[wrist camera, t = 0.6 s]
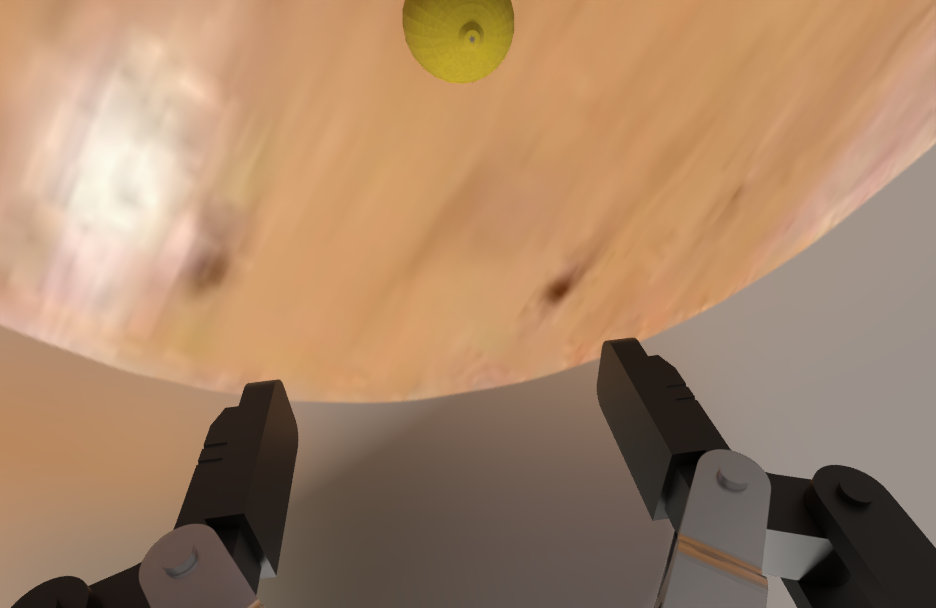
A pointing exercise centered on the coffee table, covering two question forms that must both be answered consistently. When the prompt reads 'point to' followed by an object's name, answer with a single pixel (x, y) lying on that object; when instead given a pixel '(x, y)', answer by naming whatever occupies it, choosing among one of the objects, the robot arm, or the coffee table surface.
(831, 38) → the coffee table surface
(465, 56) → the lemon
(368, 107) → the coffee table surface
